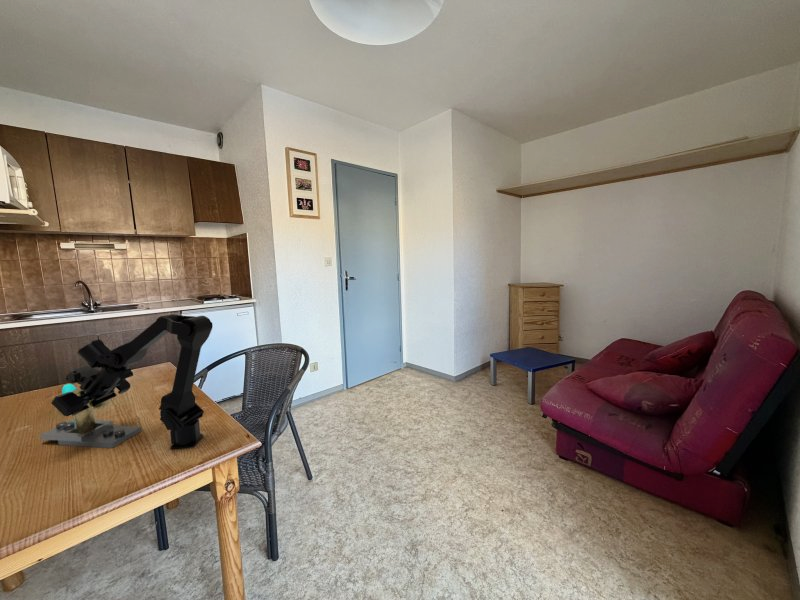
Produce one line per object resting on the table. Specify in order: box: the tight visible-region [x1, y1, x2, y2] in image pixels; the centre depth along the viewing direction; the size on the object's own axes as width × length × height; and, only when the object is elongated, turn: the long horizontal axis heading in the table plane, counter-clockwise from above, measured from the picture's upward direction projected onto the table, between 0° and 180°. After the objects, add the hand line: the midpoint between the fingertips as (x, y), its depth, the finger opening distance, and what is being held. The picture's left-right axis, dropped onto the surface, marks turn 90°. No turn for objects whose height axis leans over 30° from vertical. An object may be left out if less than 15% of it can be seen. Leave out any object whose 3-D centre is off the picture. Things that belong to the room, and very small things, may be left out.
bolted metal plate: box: [39, 418, 142, 449], centre depth 99 cm, size 24×10×4 cm, turn 84°
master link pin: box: [72, 387, 96, 434], centre depth 99 cm, size 4×4×14 cm
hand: (80, 411), depth 99 cm, fingers closed on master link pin, 4 cm apart
